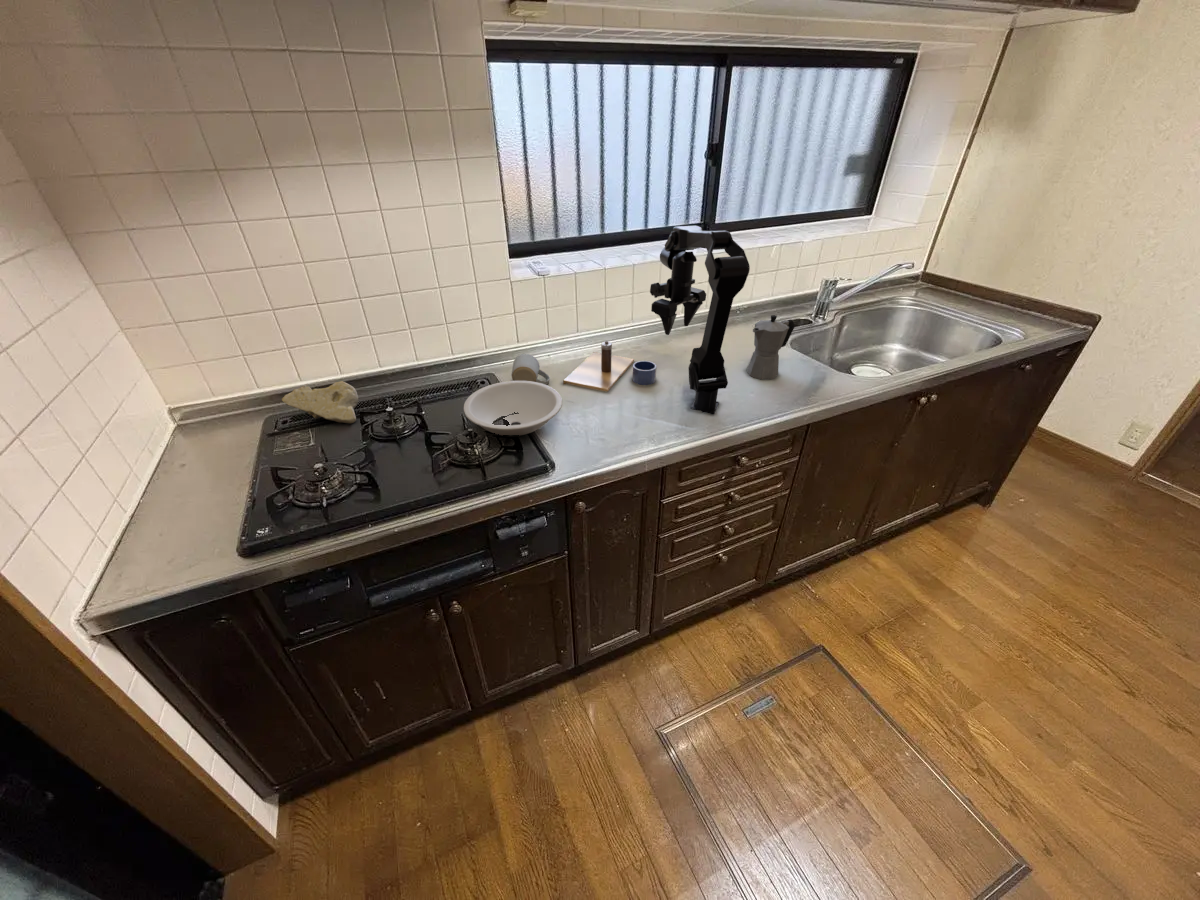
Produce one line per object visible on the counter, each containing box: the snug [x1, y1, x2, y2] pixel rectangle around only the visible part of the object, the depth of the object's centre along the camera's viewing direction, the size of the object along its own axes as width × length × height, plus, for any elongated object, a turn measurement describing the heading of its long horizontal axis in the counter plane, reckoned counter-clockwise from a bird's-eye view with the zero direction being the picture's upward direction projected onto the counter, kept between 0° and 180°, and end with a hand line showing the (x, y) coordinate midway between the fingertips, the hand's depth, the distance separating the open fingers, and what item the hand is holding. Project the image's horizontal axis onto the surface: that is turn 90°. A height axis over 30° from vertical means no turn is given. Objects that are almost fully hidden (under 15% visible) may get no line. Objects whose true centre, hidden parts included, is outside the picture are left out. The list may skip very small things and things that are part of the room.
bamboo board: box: [562, 351, 635, 393], centre depth 151 cm, size 22×14×1 cm, turn 157°
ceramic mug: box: [511, 353, 551, 386], centre depth 143 cm, size 11×8×8 cm
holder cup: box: [631, 360, 658, 386], centre depth 145 cm, size 7×7×5 cm
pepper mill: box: [600, 340, 613, 373], centre depth 147 cm, size 3×3×9 cm
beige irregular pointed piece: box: [281, 380, 359, 424], centre depth 128 cm, size 15×7×15 cm
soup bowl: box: [463, 380, 563, 436], centre depth 125 cm, size 24×24×7 cm
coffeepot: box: [746, 314, 796, 381], centre depth 147 cm, size 15×9×18 cm, turn 116°
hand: (676, 330), depth 145 cm, fingers open, 9 cm apart
